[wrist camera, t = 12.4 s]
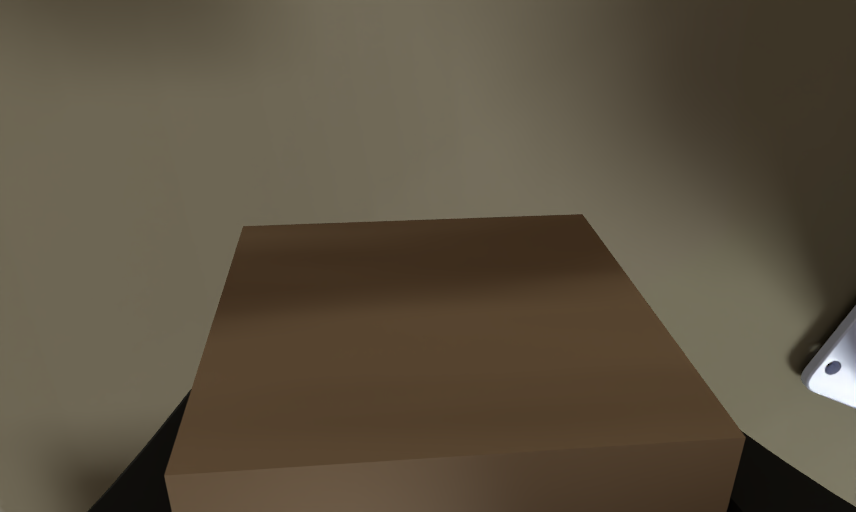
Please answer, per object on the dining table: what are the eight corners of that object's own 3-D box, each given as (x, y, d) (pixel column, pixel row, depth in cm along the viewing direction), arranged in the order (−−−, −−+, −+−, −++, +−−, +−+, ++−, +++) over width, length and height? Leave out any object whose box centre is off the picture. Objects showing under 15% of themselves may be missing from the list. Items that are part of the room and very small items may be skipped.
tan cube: (243, 226, 10) (165, 476, 6) (582, 214, 11) (745, 436, 6) (274, 487, 13) (234, 809, 8) (554, 468, 13) (661, 764, 9)
